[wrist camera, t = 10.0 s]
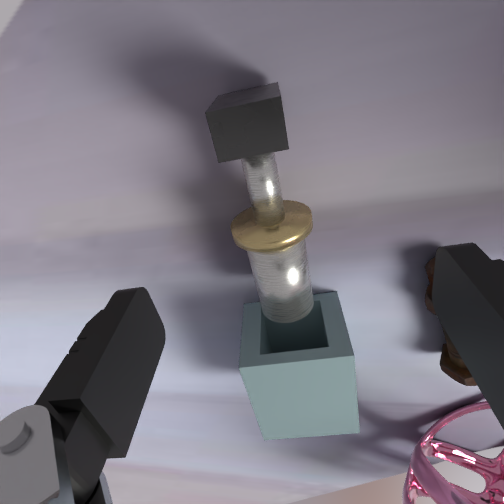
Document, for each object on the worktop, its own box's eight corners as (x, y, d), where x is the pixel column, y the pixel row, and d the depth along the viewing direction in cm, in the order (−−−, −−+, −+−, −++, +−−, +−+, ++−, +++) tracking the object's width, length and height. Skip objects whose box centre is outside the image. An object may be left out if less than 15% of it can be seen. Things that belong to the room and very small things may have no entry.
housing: (336, 291, 35) (354, 355, 28) (344, 365, 42) (359, 433, 35) (244, 304, 37) (238, 368, 30) (264, 373, 43) (264, 440, 36)
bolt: (434, 238, 34) (460, 338, 40) (398, 267, 33) (431, 364, 39) (494, 254, 29) (512, 365, 35) (454, 289, 28) (480, 397, 34)
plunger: (291, 78, 24) (298, 92, 19) (317, 277, 33) (327, 324, 28) (205, 98, 25) (188, 116, 19) (254, 286, 34) (252, 334, 29)
